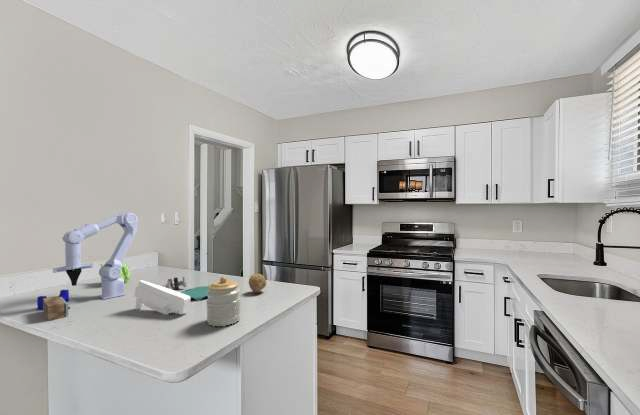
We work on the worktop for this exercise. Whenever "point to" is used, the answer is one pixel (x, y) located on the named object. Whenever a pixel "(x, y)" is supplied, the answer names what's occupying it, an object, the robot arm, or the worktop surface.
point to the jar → (223, 303)
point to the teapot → (123, 272)
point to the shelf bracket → (161, 298)
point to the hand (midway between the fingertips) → (74, 285)
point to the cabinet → (53, 308)
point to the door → (65, 306)
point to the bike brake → (175, 283)
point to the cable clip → (63, 294)
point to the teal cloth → (197, 292)
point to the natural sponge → (257, 282)
